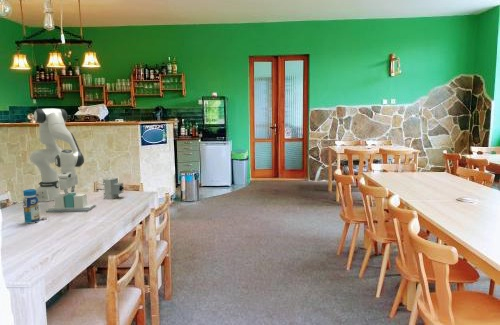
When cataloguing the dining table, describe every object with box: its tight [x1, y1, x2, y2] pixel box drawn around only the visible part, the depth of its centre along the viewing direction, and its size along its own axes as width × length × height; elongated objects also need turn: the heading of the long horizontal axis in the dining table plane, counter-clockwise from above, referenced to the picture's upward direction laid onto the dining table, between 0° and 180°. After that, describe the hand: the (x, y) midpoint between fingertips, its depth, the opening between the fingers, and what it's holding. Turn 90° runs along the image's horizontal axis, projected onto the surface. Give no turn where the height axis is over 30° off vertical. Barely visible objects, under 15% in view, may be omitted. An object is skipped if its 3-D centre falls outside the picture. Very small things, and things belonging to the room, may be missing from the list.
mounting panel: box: [45, 193, 97, 213], centre depth 273 cm, size 28×14×10 cm, turn 91°
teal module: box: [65, 192, 77, 208], centre depth 273 cm, size 5×6×9 cm
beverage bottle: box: [22, 188, 41, 224], centre depth 243 cm, size 8×8×20 cm
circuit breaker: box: [102, 177, 125, 200], centre depth 307 cm, size 8×14×15 cm, turn 78°
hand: (69, 193), depth 273 cm, fingers open, 8 cm apart
